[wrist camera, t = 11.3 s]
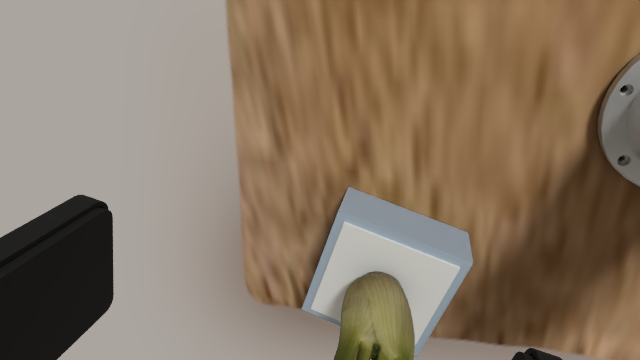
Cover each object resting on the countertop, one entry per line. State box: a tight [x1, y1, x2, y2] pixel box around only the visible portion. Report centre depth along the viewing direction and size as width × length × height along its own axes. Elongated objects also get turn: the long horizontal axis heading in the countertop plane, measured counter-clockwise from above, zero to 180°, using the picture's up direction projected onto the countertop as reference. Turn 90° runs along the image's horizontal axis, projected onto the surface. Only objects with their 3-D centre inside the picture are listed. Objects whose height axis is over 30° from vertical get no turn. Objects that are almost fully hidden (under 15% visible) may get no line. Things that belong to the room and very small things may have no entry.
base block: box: [302, 187, 473, 357], centre depth 39 cm, size 12×12×5 cm
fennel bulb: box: [334, 271, 415, 360], centre depth 32 cm, size 6×5×12 cm
